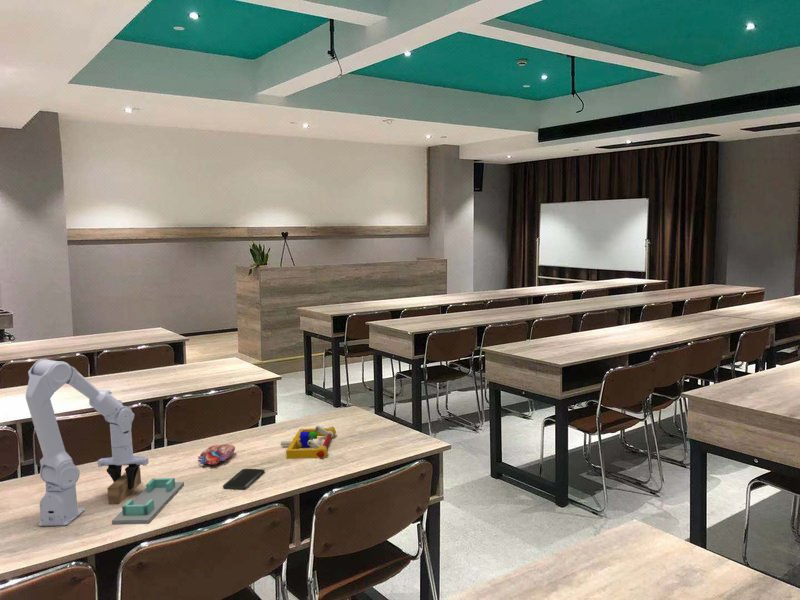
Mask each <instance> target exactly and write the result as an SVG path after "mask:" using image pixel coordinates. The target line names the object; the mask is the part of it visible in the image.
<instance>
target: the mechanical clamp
mask: <svg viewBox="0 0 800 600" xmlns="http://www.w3.org/2000/svg"><path fill="white" fill-rule="evenodd" d="M336 433H337V430H336V428H335V427H334V426H331V427H325V428H323V427H322V426H320V425H316V426H315V428H299V429H298V431H297V433H296V434H295V436H294V437H293V438H292V440H288V441H287V440H286V441H285V440H283V441H280V446H282V447H283V446H288V447H287V449H286V450H285V454H286V455H285V457H286V458H285V459H287V460H289V459H290V460H291V459H294V460H295V459H296V460H297V459H300V458H301V459H325V458H326V457H327V455H328V452H329V451H328V448H327V447H328V445H329V442H330V440H331V439H330V438H332V437H334V438H335V436H336ZM317 436H326V437H325V438H324V439H325V440H324V442H323V443H322V445H321V444H319V443H317V442H315V441H314V440H317V439H318V437H317ZM332 439H333V438H332ZM310 447H311V448H310Z"/></svg>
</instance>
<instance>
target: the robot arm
mask: <svg viewBox="0 0 800 600" xmlns="http://www.w3.org/2000/svg"><path fill="white" fill-rule="evenodd" d="M27 374H28V383H27V387H26V391H25V400H26V403H27V407H28V410H29V413H30V417H31V421H32V424H33V426H34V427H33V428H34V431H35V433H36V436H37V439H38V443H39V446H40V450H41V452H42V453H41V454H42V457H41V459H39V464H40V470H39V477H40V479H41V480H42V481H43V482H45V494H44V495H43V497H42V498H41V499H40V501H39V511H40V514H39V515H40V522H39V523H38V527H42V526H45V527H49V526H51V527H53V526H67V525H69V524H70V523H71V522H73V521H74V520H75V519H76V518H78V517H79V516H80V515H81V514H82V513H83V512H84V511H85V508H79V507H78V498H77V488H76V485H77V483H78V481H79V478H80V475H81V474H80V469H79V467H77V466H76V465H75V464H74V461H73V458H72V457H71V456H70V455H69V453H68V452H67V451H66V447H65V444H64V441H63V438H62V435H61V431H60V427H59V424H58V421H57V417H56V414H55V411H54V407H53V404H52V400H51V398H52V397H53V395H54V394H55V393H56V392H57V391H58V390H59V389H61V388H62V387H63V386H64V385H65V384H66V385H67V384H68V385H69V386H71V388H73V389H75V390H76V391H77V392H79V393H80V394H82V395H83V396H85V397H86V398H88V399H89V400H88V401H89V402H88V404H89V406H91V408H93V409H94V410H95V411H97V412H98V413H99V414H101V416H103V418H104V420H105V422H107V423H109V431H110V442H111V443H110V445H111V456H110V457H105V458H103V457H102V458H100V459H98V460H97V467H98V468H99V467H107V468H106V472H107V474H108V475H109V477H111V480H112V481H113V483H114V482H115V481H116V480H117V479H118V478H119V477H121V476H122V468H123V466H126V468H124V471H125V472H126V474H127V479H128V488H129V490H131V489H132V488H133V487H134V482H135V477H136V474H137V471H138V469H139V467H140V468H141V466H147V465H148V464H149V463H150V462H149V457H148V456H146V457H145V456H136V455H134V451H133V437H132V428H133V427H132V425H133V421H134V419H135V413H134V412H133V411H132V408H131V407H129V406H127V405H123V401H122V400H120V399H117V398H116V397H114V396H113V395H112V393H113V392H112V391H111V390H108V389H97V388H96V387H95V386H94V385H93V384H92V383H91V382H90V381H89V380H88V379H87V378H86V377H84V376H83V375H82V374H81V373H80V372H79V371H78V370H77V369H76V368H75V367H74V366H71V365H70V364H69V363H68V362H66V361H61V360H60V361H57V360H52V359H48V358H41V359H38V360H37V361H35V362H34V363H33V365H32V366H31V367H30V369H29V370H28V371H27Z"/></svg>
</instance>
